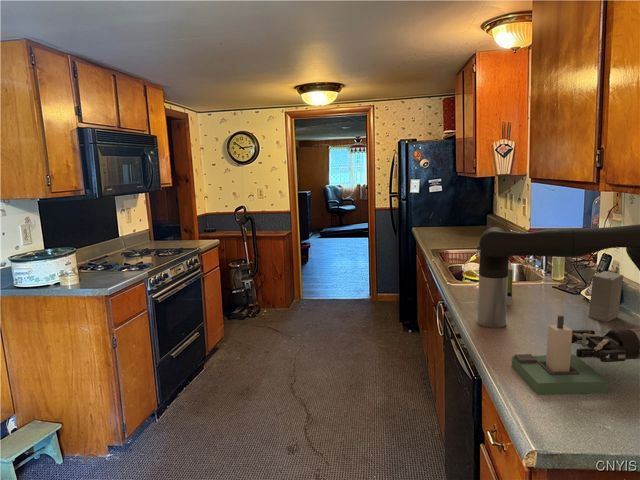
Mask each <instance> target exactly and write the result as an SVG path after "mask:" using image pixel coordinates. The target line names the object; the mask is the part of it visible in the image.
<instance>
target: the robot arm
mask: <svg viewBox="0 0 640 480" xmlns="http://www.w3.org/2000/svg"><path fill="white" fill-rule="evenodd" d="M613 248H614V249H615V248H616V249H617V248H625V250H626V254H627V257H629V259H630V260H631V261H632V263H633V264H634V266H635V267H636V268H637V269H638V271H639V272H640V224H630V225H621V226H610V227H609V226H608V227H583V228H582V227H556V228H547V229H546V228H545V229H541V230H535V231H532V232H508V231H506V230H504V229H503V228H501V227H496V226H493V227H489V228H487V229H485V231H483V232H482V234H481V236H480V238H479V265H478V293H477V294H478V295H477V323H478V324H479V325H480V326H483V327H486V328H502V327H505V326H507V325H506V323H507V310H508V305H507V288H508V265H509V261H510V260H509V258H510V257H517V256H519V257H520V256H530V257H531V256H533V257H547V258H548V257H549V258H550V257H552V258H553V257H554V258H580V257H586V256H588V255H592V254H594V253H598V252H600V251H603V250H607V249H613ZM571 330H572V343H571V344H577V345H581V346H582V347H579V348H576V350H575V351H576V352H575V355H576V356H577V357H578V358H579V359H581V358H582V359H583V358H585V359H587V358H588V359H589V358H590V359H591V358H593V359H596V360H599V361H600V362H602V363H611V362H612V363H614V362H625V361H627V360H640V328H625V329H624V328H621V329H620V328H619V329H618V328H617V329H610V330H608V331H607V332H606V334H605V335H603V334H598V333H597V334H596V331H595V330H592V329H591V330H589V329H587V330H586V329H585V330H576V329H575V330H573V329H571ZM607 356H608V357H607Z"/></svg>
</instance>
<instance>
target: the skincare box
mask: <svg viewBox="0 0 640 480" xmlns="http://www.w3.org/2000/svg"><path fill="white" fill-rule="evenodd" d="M623 278H624V275H623V274H620V273H617V272H612V271H606V270H604V271H602V272H599V273H596V274H593V275H592V282H591V283H592V284H591V291H590V300H589V310H588V318H590V319H593V320H597V321H601V322H603V323H604V322H605V323H608V322H610V321H612V320H614V319H616V318H618V317H619V313H620V311H619V310H620V303H621V296H622V289H623V281H624V279H623Z"/></svg>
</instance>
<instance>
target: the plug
mask: <svg viewBox="0 0 640 480" xmlns="http://www.w3.org/2000/svg"><path fill="white" fill-rule="evenodd" d="M564 320H565V316H564V315H561V314H560V315H557V320H556V321H557V324H547V326H548V327H547V339H546V341H547V342H546V367H547V368H548V369H549V370H550V371H551V372H569V371H570V357H571V355H572V354H571V353H572V344H573V343H572V330H573V329H571V328H570V327H569V326H567V325H565V324H564Z"/></svg>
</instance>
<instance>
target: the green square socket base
mask: <svg viewBox="0 0 640 480" xmlns="http://www.w3.org/2000/svg"><path fill="white" fill-rule="evenodd" d="M511 368H512V369H513V370H514V371H515V372H516V373H517V374H518V375H519V376H520V378H522V380H523V379H524V380H523V381H524V382H525V383H526V384H527V385H528V386H529V387H530V389H532V390H533V392H534V393H535V394H536V395H541V396H543V395H571V394H573V395H575V394H576V395H577V394H606V393H607V394H608V392H609V383H610V380H608V379H606V378H605V377H604V376H602V375H601V374H600V373H599V372H597V371H596V370H595V369H594V368H592V367H591V366H590V365H589V364H588V363H586V362H585V361H583V360H582V359H581V358H578V357H577V356H576V354H571V357H570V371H569V372H551V371H550V370H549V369H548V368H547V367H546V355H532V354H531V353H529V354H526V353H525V354H524V353H522V354H520V353H519V354H514V355H512V357H511Z"/></svg>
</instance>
